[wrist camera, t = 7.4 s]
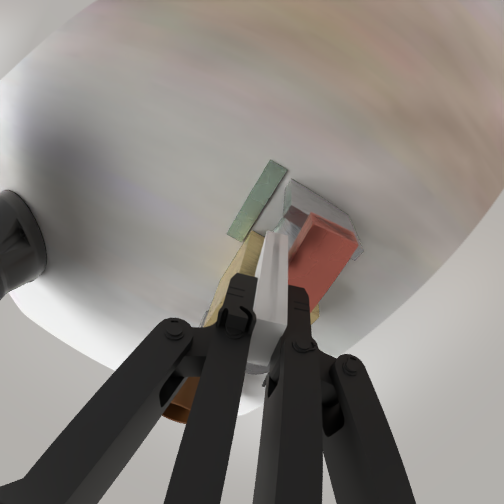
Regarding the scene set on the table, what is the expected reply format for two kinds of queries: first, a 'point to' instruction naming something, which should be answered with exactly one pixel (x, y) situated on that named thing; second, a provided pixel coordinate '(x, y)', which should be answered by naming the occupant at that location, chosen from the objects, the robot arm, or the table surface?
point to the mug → (182, 401)
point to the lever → (316, 262)
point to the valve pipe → (294, 217)
